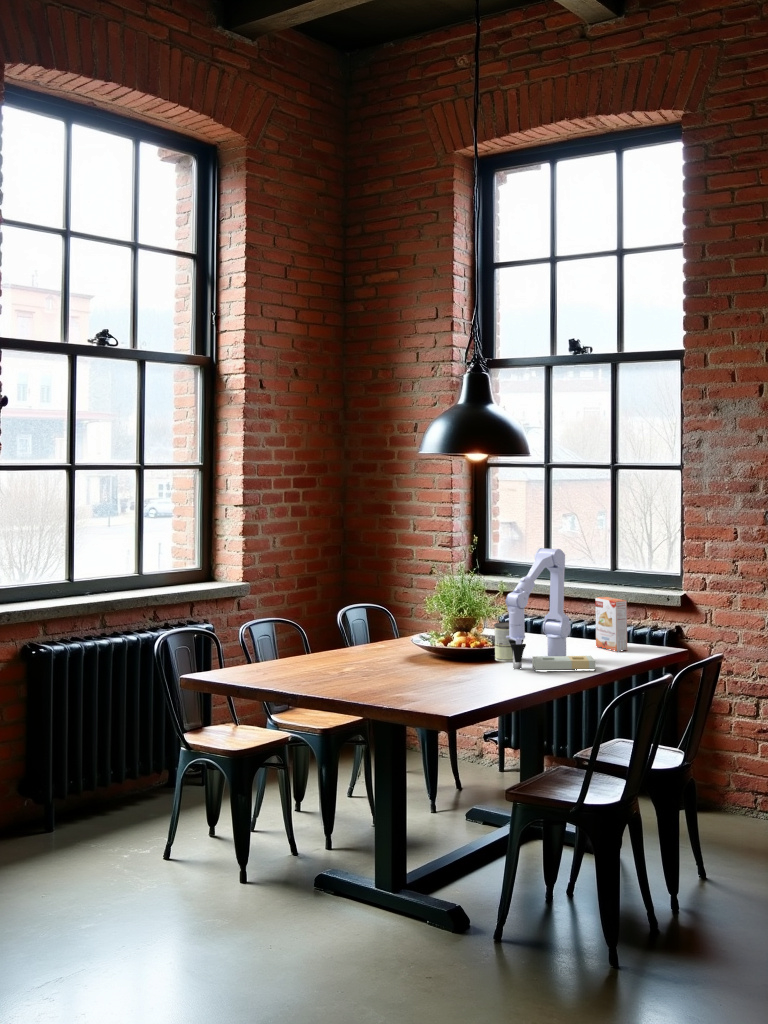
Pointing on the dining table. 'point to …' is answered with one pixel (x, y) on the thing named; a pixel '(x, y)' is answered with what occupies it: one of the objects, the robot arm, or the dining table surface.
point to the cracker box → (611, 623)
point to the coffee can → (502, 643)
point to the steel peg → (516, 663)
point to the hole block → (563, 662)
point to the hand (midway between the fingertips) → (517, 660)
